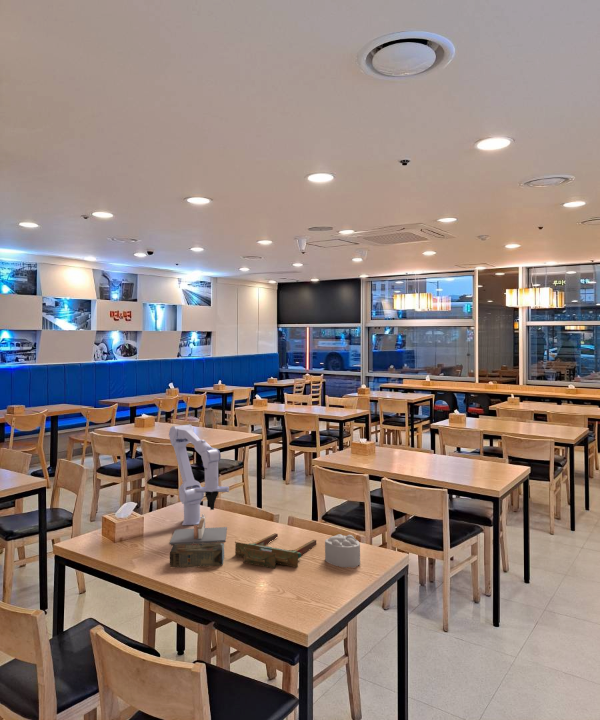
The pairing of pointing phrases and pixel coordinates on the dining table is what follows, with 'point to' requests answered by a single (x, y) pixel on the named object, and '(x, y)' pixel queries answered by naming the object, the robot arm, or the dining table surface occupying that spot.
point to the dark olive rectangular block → (197, 555)
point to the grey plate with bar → (193, 537)
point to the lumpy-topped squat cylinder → (342, 551)
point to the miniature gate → (270, 553)
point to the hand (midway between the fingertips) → (212, 509)
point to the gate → (201, 527)
